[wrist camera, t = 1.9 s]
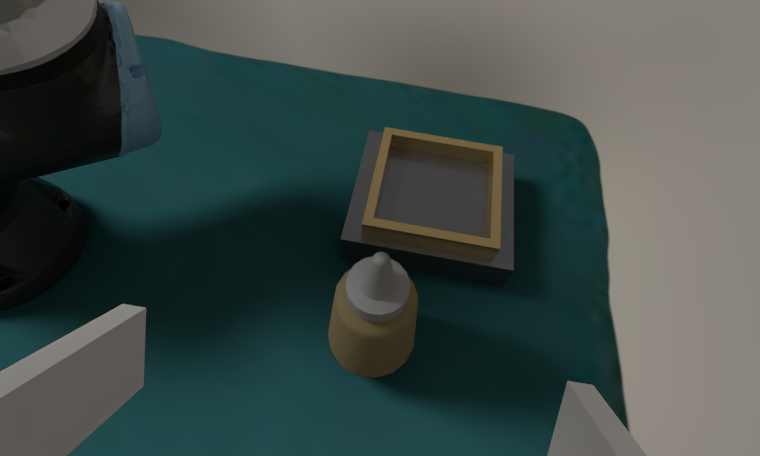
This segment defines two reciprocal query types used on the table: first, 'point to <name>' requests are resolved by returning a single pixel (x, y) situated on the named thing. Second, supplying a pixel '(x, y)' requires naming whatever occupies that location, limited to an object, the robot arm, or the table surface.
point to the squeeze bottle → (373, 317)
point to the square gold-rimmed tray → (434, 206)
